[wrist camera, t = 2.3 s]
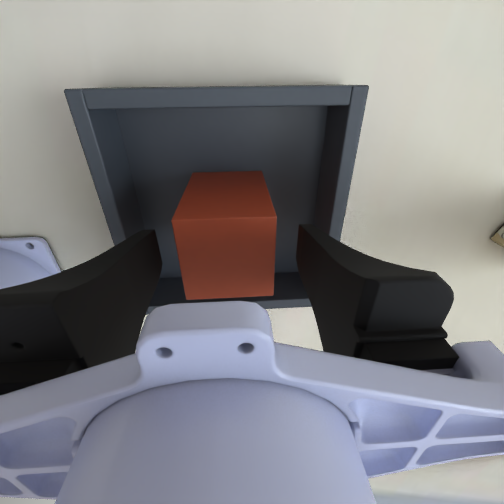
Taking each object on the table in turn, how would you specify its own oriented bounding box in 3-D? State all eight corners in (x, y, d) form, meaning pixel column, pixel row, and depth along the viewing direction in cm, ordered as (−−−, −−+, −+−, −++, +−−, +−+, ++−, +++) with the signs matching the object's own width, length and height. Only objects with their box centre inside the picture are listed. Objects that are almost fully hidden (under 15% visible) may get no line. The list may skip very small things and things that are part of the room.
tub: (150, 284, 22) (137, 315, 19) (96, 87, 15) (62, 89, 12) (315, 276, 22) (328, 306, 19) (343, 84, 15) (370, 85, 12)
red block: (200, 233, 19) (186, 300, 13) (192, 172, 17) (170, 220, 11) (261, 231, 20) (273, 296, 14) (261, 170, 17) (277, 216, 11)
